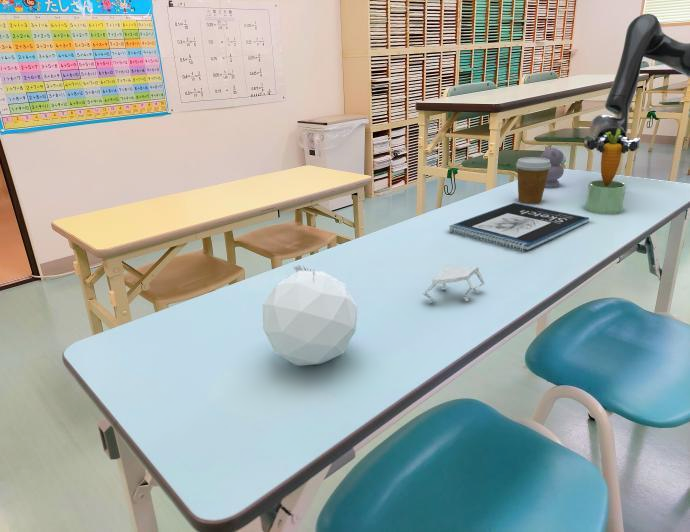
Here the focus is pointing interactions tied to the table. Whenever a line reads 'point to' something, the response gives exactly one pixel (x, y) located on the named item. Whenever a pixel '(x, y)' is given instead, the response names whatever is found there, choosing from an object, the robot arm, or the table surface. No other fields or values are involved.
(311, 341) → the geodesic sphere
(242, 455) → the table surface
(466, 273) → the white legged piece
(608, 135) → the carrot
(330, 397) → the table surface
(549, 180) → the cat figurine
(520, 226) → the sketchbook
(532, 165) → the disposable coffee cup
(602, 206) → the green cup
